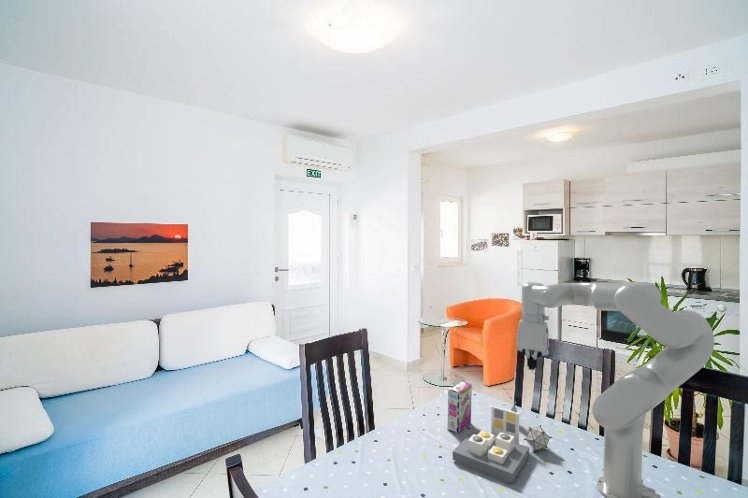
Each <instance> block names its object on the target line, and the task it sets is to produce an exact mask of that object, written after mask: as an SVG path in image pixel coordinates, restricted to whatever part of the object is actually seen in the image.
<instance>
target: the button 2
mask: <svg viewBox="0 0 748 498" xmlns="http://www.w3.org/2000/svg"><path fill="white" fill-rule="evenodd" d="M478 436H481V437H484V438H487V447H489V448H490V447H491V446H492V445H493V444H494V435H493V434H491V433H490V432H486V431H484V430H481V431H480V433H479V434H478Z"/></svg>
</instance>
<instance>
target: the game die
mask: <svg viewBox="0 0 748 498" xmlns="http://www.w3.org/2000/svg"><path fill="white" fill-rule="evenodd" d="M527 431H528V433H527V435H526V438H523V441H526V442H527V443H528V445H530V446H531V448H532V449H533V450H534V451H533V453H534V454H536V451H540V450H544V451H548V450H547V449H549V447H548V444H549V441H550V439H553V436H549V435H548V433H547V432H546V431H545V430H544V429H543V428H542V424H540V425H539V426H537V427H533V428H532V427H531V426H528V429H527Z"/></svg>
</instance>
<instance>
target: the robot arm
mask: <svg viewBox="0 0 748 498" xmlns="http://www.w3.org/2000/svg"><path fill="white" fill-rule="evenodd" d="M662 299H663V297H662V292H661V291H660V289H659V288H658V287H657V286H656V285H654V284H652V283H650V282H646V281H645V282H644V281H625V282H624V281H623V282H622V281H621V282H620V281H618V282H617V281H616V282H615V281H613V282H610V281H609V282H607V281H606V282H605V281H604V282H601V281H600V282H599V281H598V282H564V283H563V282H562V283H554V284H549V285H545V284H544V283H539V282H532V281H531V282H530V281H529V282H524V283H523V284H522V286H521V318H520V319H519V322H518V327H517V334H516V350H517V351H519V352H522V354H524V355H525V357H526V364H527V365H526V366H527V367H528V370H531V371H535V369H536V368H538V358H539V357H541V356H549V354H550V352H549V347H550V335H549V327H548V322H546V321H549V320H550V317H549V316H548V315H546V313H545V312H546V311H545V310H546V308H548V309H554V308H559V307H564V306H572V305H573V306H575V305H576V306H578V305H579V306H590V307H593V308H594V309H596V310H597V311H603V312H604V311H607V312H608V311H610V312H612V311H613V312H621V314H623V315H624V316H625V317H626V318H627V319H629V320H630V321H631V322H632V323H633V324H635V326H637V327H638V328H640V329H641V330H642V331H644V332H645V333H646V334H647V335H648V336H650V337H651V338H652V339H653V340H655V341H656V342H658V343H659V344H660V345H663V346H664V348H663V349H662V350H660V351H659V352H658V353H657V354H655V356H654V357H652V358H651V359H649V360H648V361H647V362H646V363H644V364H643V365H641V366H639V367H636V368H635V369H633V370H631V371H629V372H628V373H625V374H624V375H622V376H621V377H620V378H619V379H617V380H616V381H615V382H614V383H612V385H610V386H609V387H608V388H607V389H605V390H604V391H603V392H601V393H600V394H599V395H598V396H597V397H596V398H595V399H594V401H593V403H592V406H591V410H592V411H591V412H592V415H593V417H594V419H595V421H596V423H597V424H598V425H600V426H601V427H602V428H603V431H604V432H603V434H604V435H603V468H602V469H603V471H602V472H603V473H602V474H603V475H602V476H601V477H599V478H598V479H597V481H596V486H597V489H598V491H599V492H600V493H601V495H603V496H604V497H606V498H661V494H659V493H656V489H655V488H652V487H649V486H646V485H645V484H644V479H642V474H643V473H642V470H643V445H644V444H643V442H644V441H643V439H644V428H645V423H646V416H647V413H649V412H650V411H652V410H653V409H654V408H656V407H657V406H658V405H660V404H661V403H662V402H663V401H664V400H666V399H667V398H668V396H670V394H671V393H673V392H674V391H675V390H676V389H677V388H679V387H680V386H681V385H683V384H684V383H685V382H687V381H688V380H689V379H690V378H692V377H693V376H694V375H695V374H696V373H698V372H699V371H700V370H701V369H702V368H703V367H704V366H705V365H706V364H707V363H708V361H709V360H710V358H711V356H712V354H713V351H714V347H715V335H714V331H713V329H712V327H711V325H710V323H709V322H708V320H707V318H705V317H704V316H703V315H701V314H700V313H698V312H697V311H693V310H689V309H680V310H676V311H672V310H671V309H669V308H668V307H666V306H665V305H664V304H663V303H662ZM532 351H533V354H532Z"/></svg>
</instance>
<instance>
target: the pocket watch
mask: <svg viewBox="0 0 748 498" xmlns="http://www.w3.org/2000/svg"><path fill="white" fill-rule="evenodd" d="M516 404H517V401H516V400H514V401H513V404H512V406H511V410H510V411H513V412H517V411H518V410H517V408H516ZM517 413H518V412H517Z"/></svg>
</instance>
